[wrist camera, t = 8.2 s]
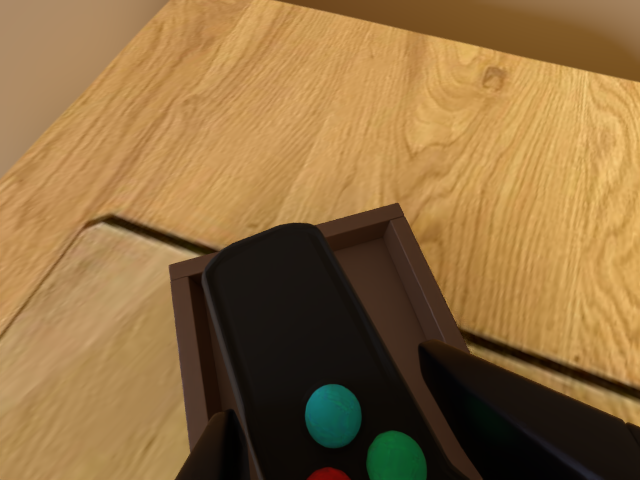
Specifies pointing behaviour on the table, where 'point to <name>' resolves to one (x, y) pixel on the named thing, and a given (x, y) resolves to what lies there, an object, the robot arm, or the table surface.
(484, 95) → the table surface
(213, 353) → the tray
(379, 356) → the controller
